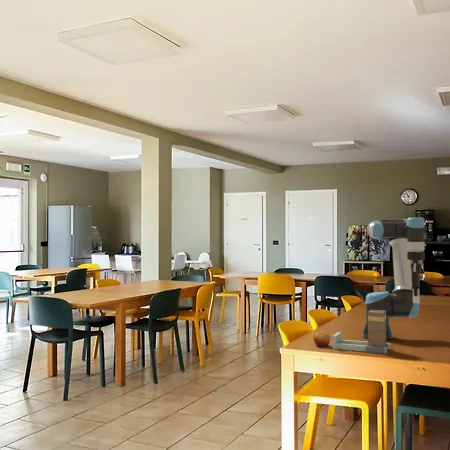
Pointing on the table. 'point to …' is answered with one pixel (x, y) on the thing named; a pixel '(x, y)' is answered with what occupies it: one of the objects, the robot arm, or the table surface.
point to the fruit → (321, 338)
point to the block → (377, 328)
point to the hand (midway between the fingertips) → (416, 302)
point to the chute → (357, 345)
